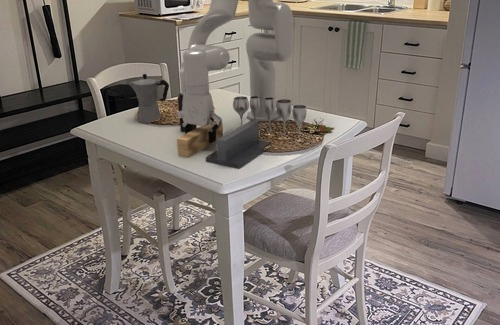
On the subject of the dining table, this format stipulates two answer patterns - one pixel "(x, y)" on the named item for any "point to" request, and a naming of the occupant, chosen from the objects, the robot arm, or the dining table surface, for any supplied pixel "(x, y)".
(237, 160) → the steel ridge
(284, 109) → the goblet set
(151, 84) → the coffeepot
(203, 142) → the oak beam
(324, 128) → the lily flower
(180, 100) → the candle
